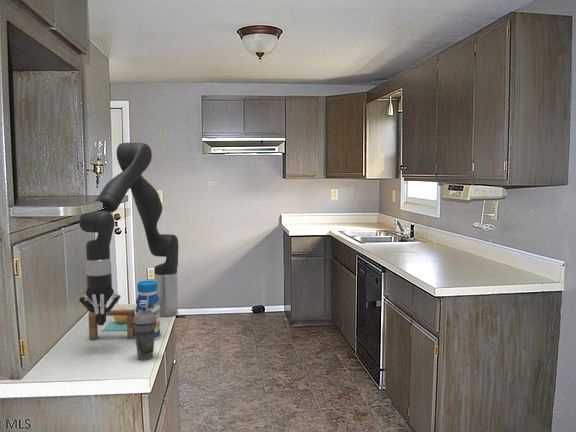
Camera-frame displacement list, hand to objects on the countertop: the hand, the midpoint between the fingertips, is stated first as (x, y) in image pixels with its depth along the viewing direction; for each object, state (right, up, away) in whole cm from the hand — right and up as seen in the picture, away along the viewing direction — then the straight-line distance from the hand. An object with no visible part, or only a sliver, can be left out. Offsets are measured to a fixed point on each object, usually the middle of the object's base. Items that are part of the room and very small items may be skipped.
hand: (101, 324), depth 157 cm
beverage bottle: (+11, -8, +14) cm, 20 cm away
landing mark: (-2, -7, +27) cm, 28 cm away
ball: (-4, -3, +30) cm, 31 cm away
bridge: (-1, -8, +13) cm, 16 cm away
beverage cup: (+16, -10, -4) cm, 19 cm away
